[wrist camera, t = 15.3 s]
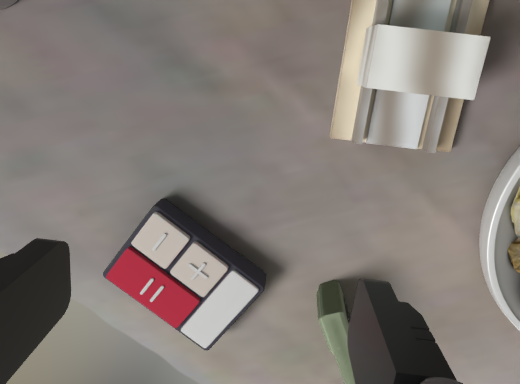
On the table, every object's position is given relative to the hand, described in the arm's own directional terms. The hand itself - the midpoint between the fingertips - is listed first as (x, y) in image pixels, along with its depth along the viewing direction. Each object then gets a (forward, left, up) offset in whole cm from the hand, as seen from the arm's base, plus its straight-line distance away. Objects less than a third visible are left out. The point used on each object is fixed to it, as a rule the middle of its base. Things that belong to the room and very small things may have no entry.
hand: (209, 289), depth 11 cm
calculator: (-7, -19, -34) cm, 39 cm away
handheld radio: (+15, -29, -34) cm, 47 cm away
